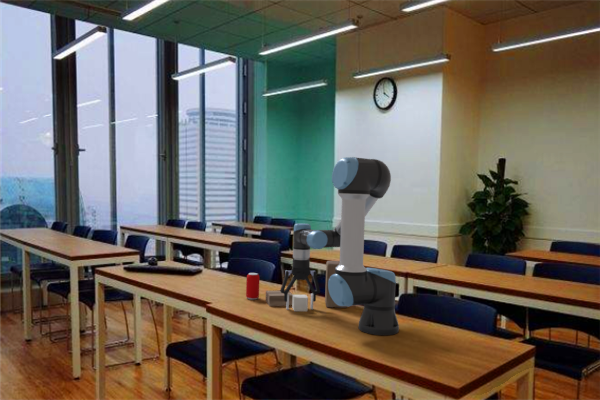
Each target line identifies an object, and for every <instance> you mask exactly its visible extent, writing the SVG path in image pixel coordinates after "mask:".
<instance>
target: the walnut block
mask: <svg viewBox="0 0 600 400" xmlns="http://www.w3.org/2000/svg"><path fill="white" fill-rule="evenodd" d="M280 290H281V289H278V290H265V302H266V303H267V305H268V306H269V307H286V302H285V301H284V293H281V291H280ZM288 294H289V305H290V306H289V307H292V306H291V305H292V297H293V295H294V294H293V293H292V292H291V290H289V292H288Z"/></svg>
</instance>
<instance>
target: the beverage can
mask: <svg viewBox="0 0 600 400" xmlns="http://www.w3.org/2000/svg"><path fill="white" fill-rule="evenodd" d="M245 286H246V287H245V291H246V292H245V297H246V299H248V300H252V301H253V300H258V298H260V275H259V273H256V272H249V273H248V274H247V275H246V285H245Z"/></svg>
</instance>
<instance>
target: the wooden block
mask: <svg viewBox="0 0 600 400" xmlns="http://www.w3.org/2000/svg"><path fill="white" fill-rule="evenodd" d="M339 263H340V260H327V261H326V264H325V292H324V293H325V294H324V295H325V296H324V303H325V306H326V308H333V307H335V309H336V308H338V309H339V308H341V309H347V308H348V306H339V305H337V304H336V303H335V302H334V301H333V300H332V298H331V296H330V293H329V289H328V281H329V279H330V276H331V275H333V274H335V268H336V267H337V266H338V265H339Z"/></svg>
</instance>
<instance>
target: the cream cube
mask: <svg viewBox="0 0 600 400" xmlns="http://www.w3.org/2000/svg"><path fill="white" fill-rule="evenodd" d="M308 301H309V297H308V296H307V294H293V297H292V306H291V308H293V309H292V310H294V311H293V312H309V311H308V309H309V308H308V307H309V302H308Z"/></svg>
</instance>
